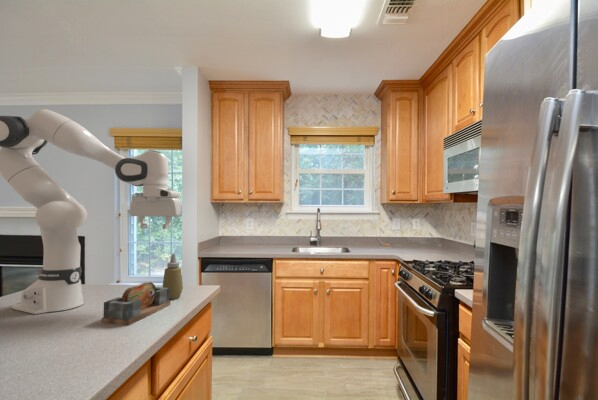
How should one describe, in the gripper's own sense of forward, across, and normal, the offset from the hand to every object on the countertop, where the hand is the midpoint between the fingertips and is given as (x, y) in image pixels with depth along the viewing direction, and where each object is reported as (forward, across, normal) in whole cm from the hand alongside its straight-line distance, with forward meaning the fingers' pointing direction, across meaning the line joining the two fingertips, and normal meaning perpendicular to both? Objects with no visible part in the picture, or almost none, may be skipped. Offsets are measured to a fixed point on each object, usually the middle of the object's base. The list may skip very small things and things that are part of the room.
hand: (154, 228), depth 121 cm
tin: (+28, +2, -10) cm, 29 cm away
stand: (+29, +2, -10) cm, 31 cm away
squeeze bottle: (+29, +2, +10) cm, 31 cm away
